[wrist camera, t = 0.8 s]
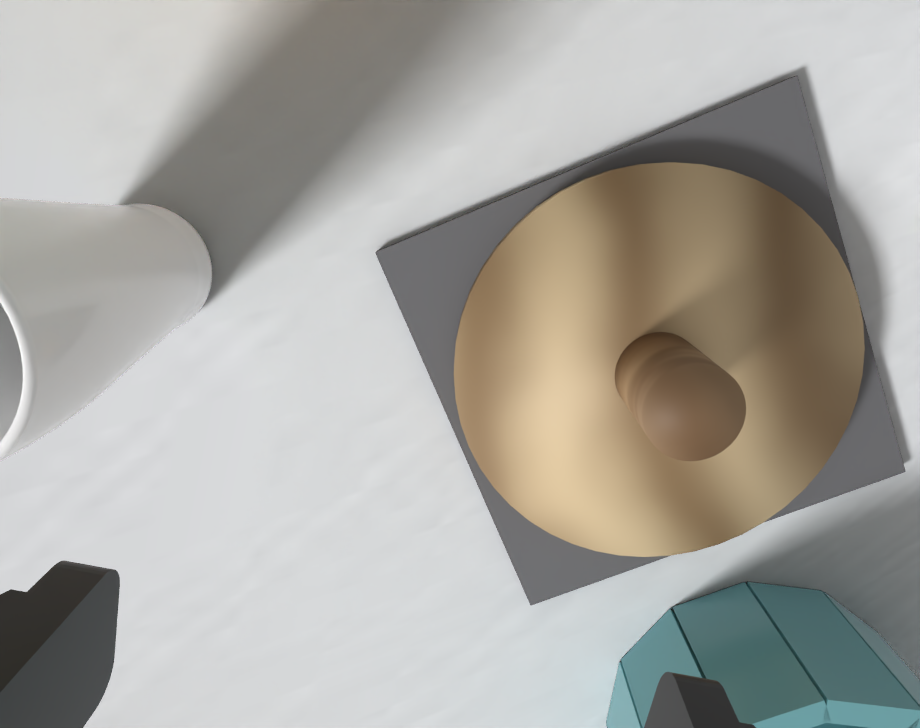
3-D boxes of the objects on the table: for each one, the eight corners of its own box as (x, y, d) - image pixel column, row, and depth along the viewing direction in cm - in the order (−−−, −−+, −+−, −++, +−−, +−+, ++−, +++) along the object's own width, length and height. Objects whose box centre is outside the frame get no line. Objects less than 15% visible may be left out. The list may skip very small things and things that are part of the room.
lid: (788, 93, 29) (873, 75, 23) (891, 466, 33) (986, 533, 27) (391, 259, 31) (373, 282, 25) (536, 593, 35) (552, 682, 29)
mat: (791, 77, 29) (797, 75, 29) (899, 467, 33) (905, 471, 33) (376, 251, 31) (375, 252, 30) (529, 599, 35) (530, 605, 35)
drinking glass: (241, 200, 30) (40, 234, 16) (226, 356, 32) (33, 514, 18) (76, 171, 30) (-281, 178, 16) (70, 330, 32) (-255, 469, 17)
